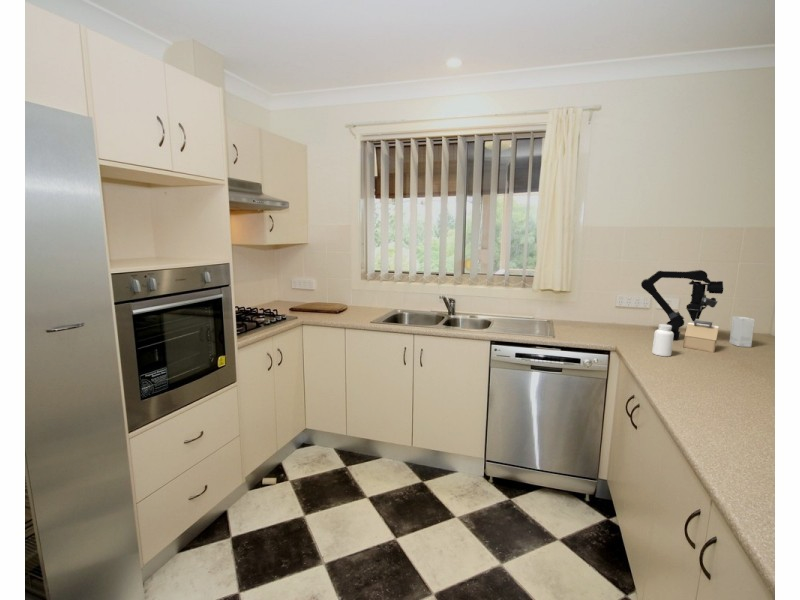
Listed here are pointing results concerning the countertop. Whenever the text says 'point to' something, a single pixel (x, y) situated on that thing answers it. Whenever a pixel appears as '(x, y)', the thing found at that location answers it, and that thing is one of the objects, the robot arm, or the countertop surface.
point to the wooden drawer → (699, 344)
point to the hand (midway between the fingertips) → (695, 320)
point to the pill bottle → (663, 340)
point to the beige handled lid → (702, 330)
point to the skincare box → (741, 331)
